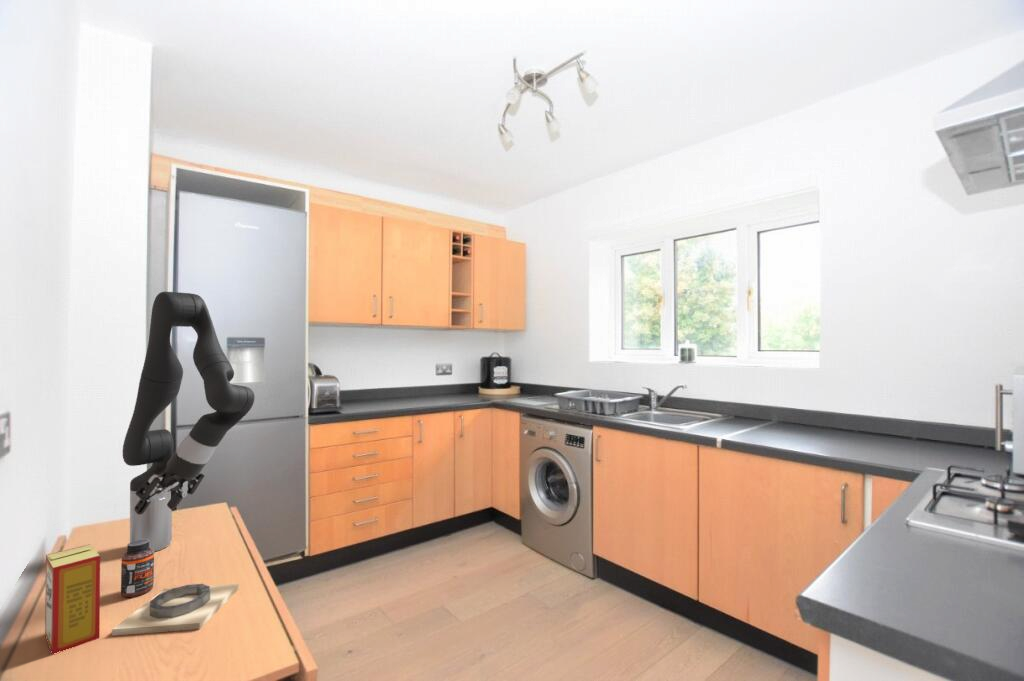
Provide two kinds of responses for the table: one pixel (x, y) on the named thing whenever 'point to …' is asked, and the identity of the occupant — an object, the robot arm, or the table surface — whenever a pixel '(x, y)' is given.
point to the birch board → (191, 621)
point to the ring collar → (180, 609)
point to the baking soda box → (72, 597)
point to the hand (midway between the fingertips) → (154, 509)
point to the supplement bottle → (137, 569)
